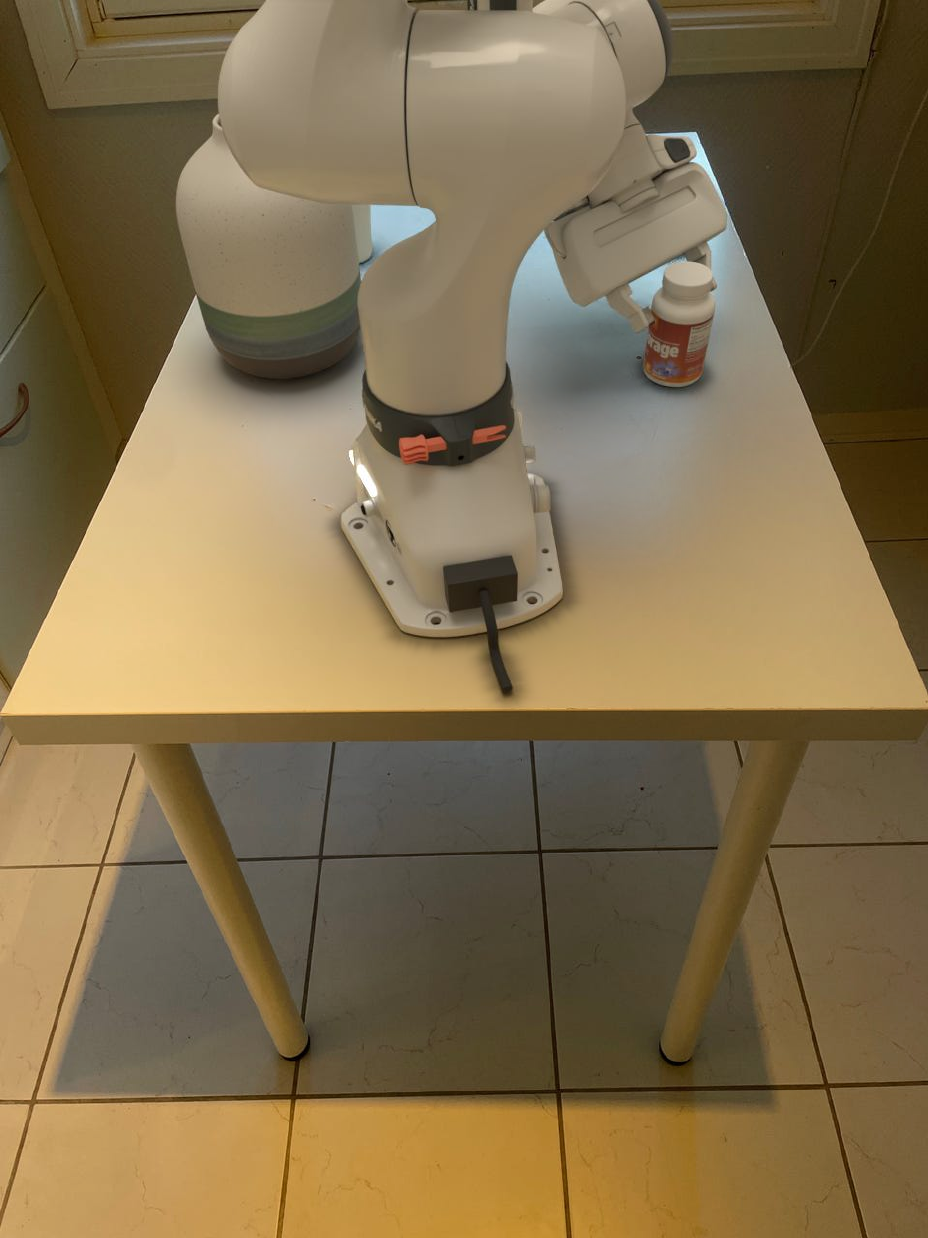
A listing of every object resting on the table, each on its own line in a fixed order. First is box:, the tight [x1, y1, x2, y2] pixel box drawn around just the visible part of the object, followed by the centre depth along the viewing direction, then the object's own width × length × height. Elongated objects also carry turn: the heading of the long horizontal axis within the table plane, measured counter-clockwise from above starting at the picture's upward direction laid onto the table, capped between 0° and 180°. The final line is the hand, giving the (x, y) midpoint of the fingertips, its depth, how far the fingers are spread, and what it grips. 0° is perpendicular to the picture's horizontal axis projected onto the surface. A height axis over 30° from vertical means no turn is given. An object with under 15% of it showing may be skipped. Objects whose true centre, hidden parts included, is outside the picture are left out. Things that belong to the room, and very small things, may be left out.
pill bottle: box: [642, 260, 716, 388], centre depth 93 cm, size 6×6×11 cm
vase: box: [175, 113, 362, 380], centre depth 93 cm, size 17×17×24 cm
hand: (677, 310), depth 93 cm, fingers open, 8 cm apart
